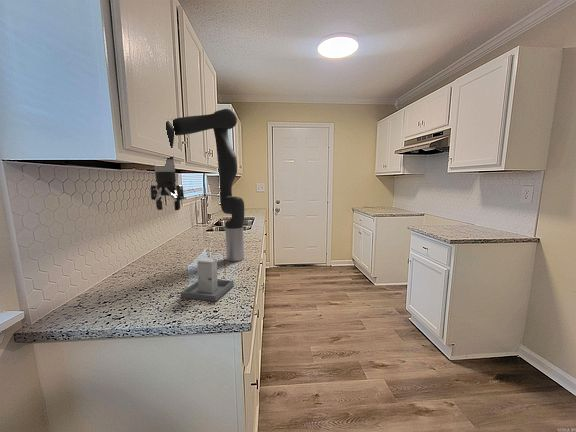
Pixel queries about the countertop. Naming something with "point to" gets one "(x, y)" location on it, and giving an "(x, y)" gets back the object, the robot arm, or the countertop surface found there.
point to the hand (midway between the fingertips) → (168, 209)
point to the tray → (213, 297)
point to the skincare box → (207, 275)
